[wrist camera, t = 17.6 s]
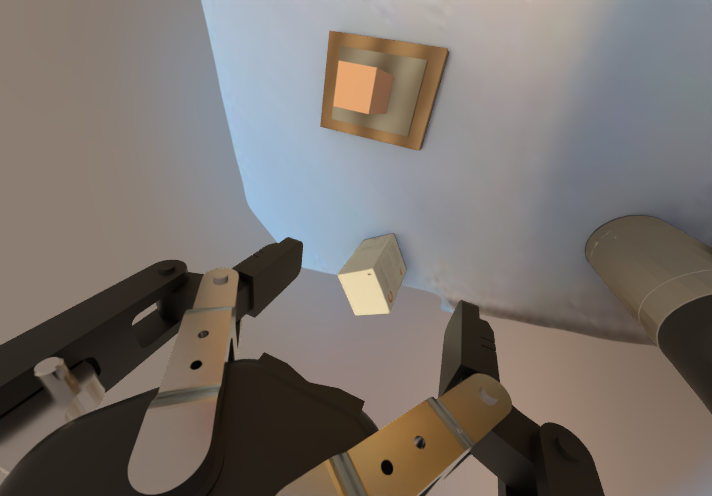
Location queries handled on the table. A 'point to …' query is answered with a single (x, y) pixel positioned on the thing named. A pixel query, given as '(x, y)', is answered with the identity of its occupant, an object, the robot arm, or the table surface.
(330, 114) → the walnut plinth
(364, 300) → the small box
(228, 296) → the robot arm
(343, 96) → the terracotta block
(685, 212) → the table surface
